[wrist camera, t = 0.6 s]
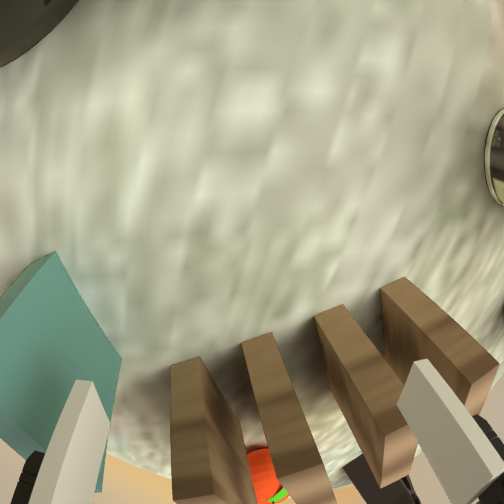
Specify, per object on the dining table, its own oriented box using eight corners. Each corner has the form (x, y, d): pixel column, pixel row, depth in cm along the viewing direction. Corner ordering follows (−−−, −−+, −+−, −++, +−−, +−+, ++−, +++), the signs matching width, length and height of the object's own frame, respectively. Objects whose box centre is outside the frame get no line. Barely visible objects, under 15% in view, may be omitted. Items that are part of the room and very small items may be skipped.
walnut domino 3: (313, 315, 24) (384, 436, 13) (342, 303, 24) (424, 414, 14) (331, 390, 29) (380, 488, 18) (353, 380, 29) (408, 474, 18)
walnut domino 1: (170, 365, 24) (172, 500, 13) (199, 356, 24) (214, 494, 13) (216, 429, 28) (233, 535, 17) (239, 422, 28) (264, 529, 17)
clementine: (253, 428, 29) (267, 485, 23) (306, 434, 31) (325, 484, 25) (220, 463, 31) (229, 513, 25) (270, 468, 33) (283, 513, 27)
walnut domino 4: (380, 287, 25) (471, 384, 14) (404, 276, 25) (499, 363, 14) (384, 365, 29) (444, 453, 18) (404, 355, 29) (468, 437, 18)
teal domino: (31, 263, 19) (-57, 376, 8) (55, 250, 19) (-34, 368, 8) (97, 365, 23) (70, 492, 12) (121, 358, 23) (101, 492, 12)
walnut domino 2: (241, 342, 24) (277, 478, 13) (271, 331, 24) (323, 463, 13) (273, 411, 28) (307, 517, 17) (297, 403, 28) (338, 506, 18)
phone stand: (342, 466, 37) (370, 530, 26) (374, 444, 36) (408, 508, 25) (370, 471, 41) (396, 525, 30) (398, 451, 40) (429, 505, 29)
